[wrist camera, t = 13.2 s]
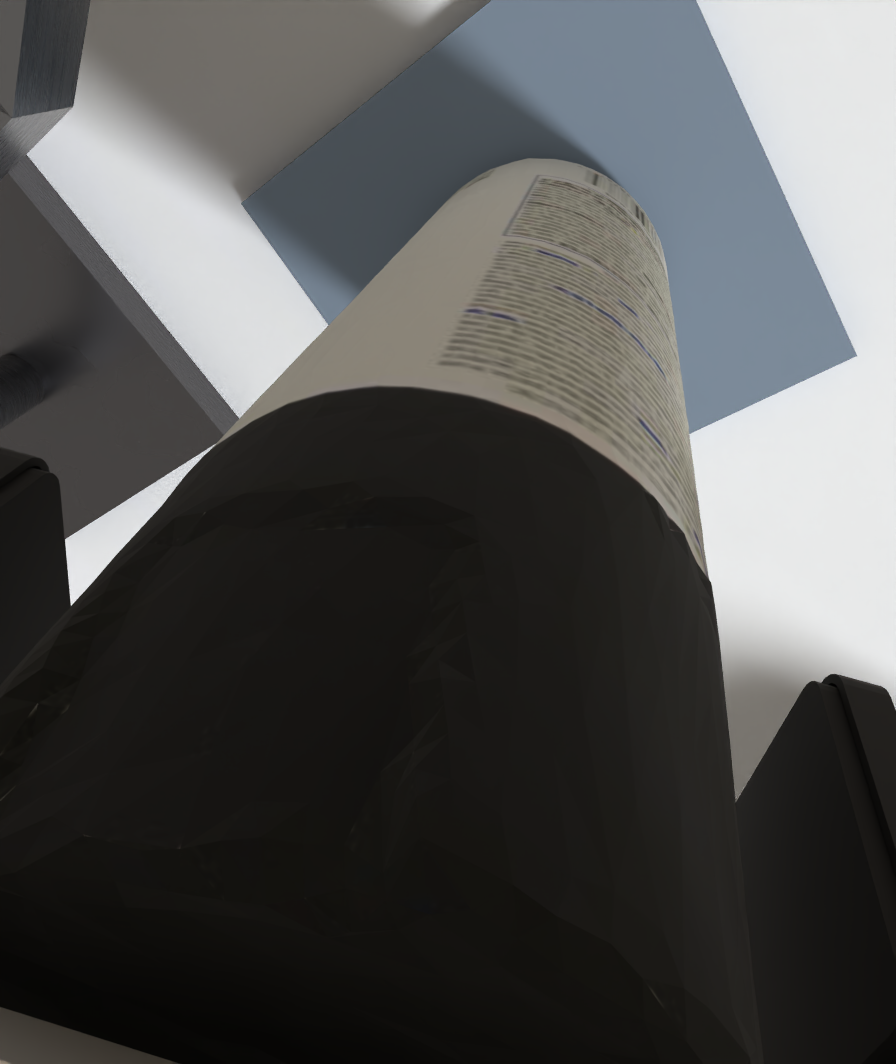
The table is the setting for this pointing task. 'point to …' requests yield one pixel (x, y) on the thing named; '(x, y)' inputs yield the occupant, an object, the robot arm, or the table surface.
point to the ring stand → (79, 306)
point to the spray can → (406, 693)
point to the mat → (592, 141)
